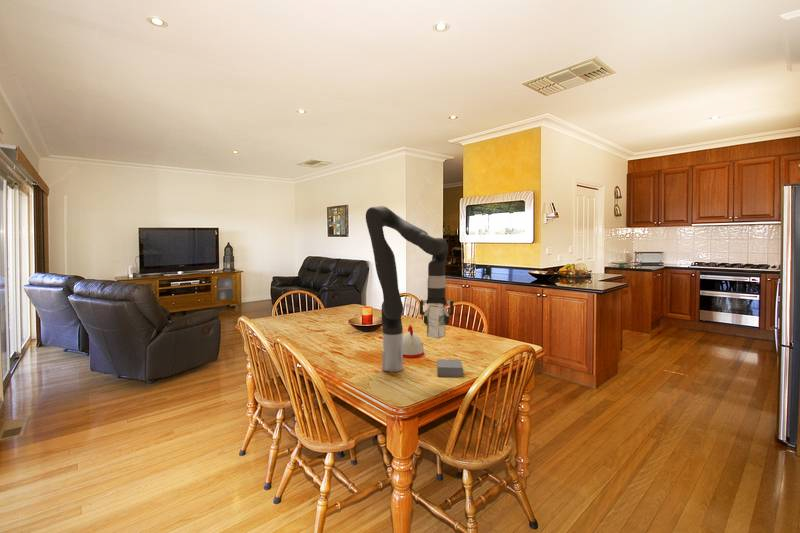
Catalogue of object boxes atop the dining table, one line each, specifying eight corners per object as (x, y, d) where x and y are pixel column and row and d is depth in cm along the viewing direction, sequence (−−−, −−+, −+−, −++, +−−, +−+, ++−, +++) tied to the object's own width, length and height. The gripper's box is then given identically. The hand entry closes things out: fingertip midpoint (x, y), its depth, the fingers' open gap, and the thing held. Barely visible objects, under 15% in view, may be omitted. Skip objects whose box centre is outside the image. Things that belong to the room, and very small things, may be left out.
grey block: (437, 376, 172) (437, 367, 172) (437, 367, 183) (437, 359, 183) (462, 376, 171) (462, 367, 171) (460, 367, 182) (460, 359, 182)
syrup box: (433, 334, 168) (434, 300, 167) (445, 336, 165) (446, 302, 163) (426, 337, 164) (426, 302, 162) (438, 339, 160) (438, 304, 159)
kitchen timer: (400, 359, 196) (400, 329, 195) (395, 351, 210) (394, 323, 208) (426, 357, 199) (426, 328, 198) (420, 349, 213) (419, 322, 211)
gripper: (419, 287, 159) (419, 326, 160) (454, 287, 158) (454, 327, 159) (419, 284, 167) (419, 322, 168) (453, 285, 165) (453, 322, 167)
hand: (436, 324), depth 164 cm, fingers closed on syrup box, 8 cm apart
